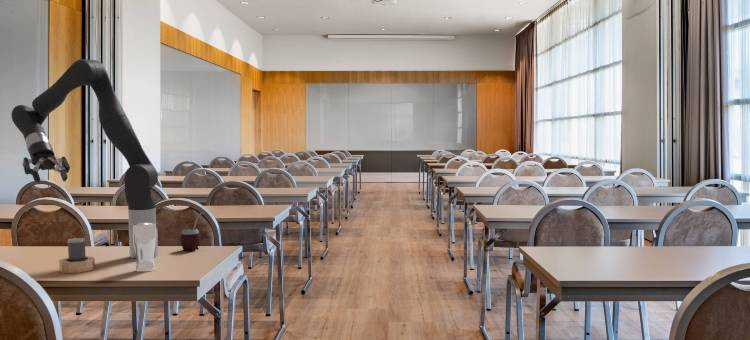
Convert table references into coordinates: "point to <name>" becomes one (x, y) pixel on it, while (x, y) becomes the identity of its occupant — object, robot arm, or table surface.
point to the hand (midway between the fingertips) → (52, 180)
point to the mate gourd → (190, 238)
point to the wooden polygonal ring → (76, 265)
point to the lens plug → (76, 249)
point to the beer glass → (144, 246)
